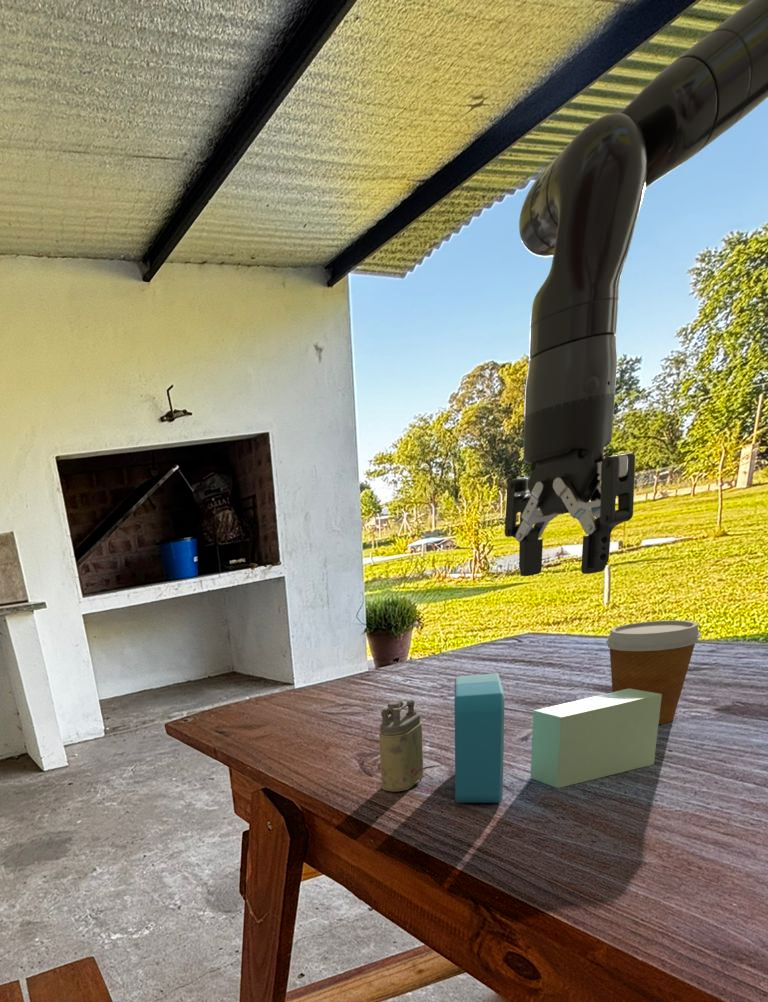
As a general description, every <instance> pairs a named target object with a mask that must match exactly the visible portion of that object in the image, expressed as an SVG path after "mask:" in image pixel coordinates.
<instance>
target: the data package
mask: <svg viewBox="0 0 768 1002" xmlns="http://www.w3.org/2000/svg"><path fill="white" fill-rule="evenodd" d="M502 686H503V685H502V682H501V678H500V675H499V673H496V672H495V673H486V674H474V675H473V674H471V675H461V676H460V675H459V676H456V677H454V795H455V796H454V798H455V799H454V801H455V802H456V803H457V804H482V803H483V804H486V803H487V804H490V803H491V804H492V803H493V804H494V803H495V804H497V803H501V802H502V801H503V797H504V795H503V794H504V755H505V754H504V751H505V748H504V747H505V693H504V689H503V687H502Z"/></svg>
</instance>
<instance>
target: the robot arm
mask: <svg viewBox="0 0 768 1002" xmlns="http://www.w3.org/2000/svg"><path fill="white" fill-rule="evenodd" d="M767 99H768V0H750V1H749V2H747V3H745V4H744V5H743V6H742V7H740V8H738V10H737V11H735V12H734V13H732V15H730V16H729V17H727V18H726V19H725V20H724V21H723V22H721V23H720V24H719V25H717V26H716V27H715V28H714V29H712V30H711V31H709V32H708V33H707V34H706V35H705V36H704V37H702V38H701V39H699V41H698V42H696V43H695V44H694V45H692V46H691V47H690V48H688V49H687V50H686V51H684V53H682V54H681V55H680V56H679V57H677V58H676V59H675V60H674V61H673V62H671V63H670V64H669V65H668V66H666V67H665V68H664V69H663V70H662V71H661V72H660V73H658V75H656V76H655V77H654V78H653V79H652V80H651V81H650V82H649V83H648V84H647V85H646V86H645V87H644V88H643V89H642V90H641V91H640V92H639V93H638V94H637V95H636V96H635V97H634V99H633V100H632V101H630V103H629V104H628V105H627V106H626V107H625V108H624V109H623V110H621V111H620V112H616V113H615V112H614V113H608V114H605V115H603V116H601V117H599V118H597V119H595V120H594V121H592V122H591V123H589V124H588V125H587V126H585V127H584V128H583V129H582V130H581V131H579V132H578V134H577V135H576V136H574V137H573V139H572V140H571V141H570V142H569V143H568V144H567V145H566V146H565V148H564V149H562V151H561V152H560V153H559V154H558V155H557V156H556V157H555V158H554V159H553V161H551V163H549V165H547V167H546V168H545V169H544V170H543V171H542V172H541V173H540V175H539V176H538V177H537V178H536V180H535V181H534V183H533V184H532V186H531V187H530V189H529V190H528V193H527V195H526V197H525V199H524V201H523V203H522V207H521V209H520V215H519V222H518V231H519V237H520V240H521V242H522V245H523V246H524V247H525V249H526V250H527V251H528V252H530V253H531V254H532V255H534V256H537V257H543V258H550V257H552V261H551V266H550V270H549V271H548V272H549V273H548V275H547V278H545V280H544V281H543V283H542V285H541V286H540V288H539V289H538V291H537V293H535V296H534V299H533V302H532V306H531V310H530V311H531V312H530V321H529V328H530V329H529V353H528V359H529V360H528V368H527V369H528V370H527V376H526V381H525V391H524V392H525V394H524V422H523V423H524V426H523V427H524V428H523V429H524V431H523V462H524V463H526V464H530V466H531V470H530V474H529V476H523V477H518V478H513V479H510V480H509V481H508V482H507V484H506V485H507V486H506V501H505V502H506V503H505V519H504V536H505V537H506V538H510V537H512V538H515V540H516V541H517V542H518V543H519V549H518V550H519V552H518V557H519V558H518V568H519V574H520V576H521V577H530V576H535V575H539V574H540V573H542V569H543V568H542V567H543V549H544V547H543V545H544V538H541V537H542V535H543V533H544V532H545V530H546V528H547V527H548V524H549V523H550V522H551V521H552V520H554V519H555V518H556V516H557V515H558V514H560V515H561V514H567V513H569V515H570V516H571V518H573V519H576V520H578V522H579V524H580V526H581V528H582V530H583V531H584V533H585V534H586V535H583V536H582V550H581V564H580V565H581V567H580V572H581V573H582V575H590V574H591V575H592V574H596V573H600V572H603V571H604V570H605V569H606V567H607V565H608V563H609V560H610V548H611V537H612V531H613V530H614V529H615V527H617V526H619V525H621V524H623V523H625V522H630V520H632V519H633V516H634V502H635V501H634V498H635V474H636V473H635V472H636V455H635V454H634V452H626V453H621V454H616V455H609V456H606V457H605V455H604V451H605V448H606V447H608V446H609V445H610V444H611V442H612V439H613V426H614V412H615V401H616V400H615V399H616V384H617V373H618V371H617V370H618V353H617V324H618V311H619V295H620V280H621V277H622V272H623V271H624V270H623V269H624V266H625V263H626V260H627V257H628V254H629V252H630V247H631V245H632V240H633V235H634V232H635V228H636V225H637V220H638V217H639V213H640V210H641V205H642V202H643V198H644V193H645V190H646V189H647V188H649V187H650V186H651V185H652V184H654V183H655V182H657V181H658V180H660V179H662V178H663V177H664V176H666V175H668V174H669V173H670V172H672V171H673V170H675V169H677V168H678V167H680V166H681V165H683V164H684V163H685V162H687V161H688V160H690V159H691V158H692V157H694V156H695V155H697V154H698V153H699V152H701V151H702V150H703V149H705V148H706V147H708V146H709V145H710V144H711V143H712V142H714V141H715V140H717V139H718V138H719V137H720V136H722V135H723V134H724V133H725V132H727V131H728V130H729V129H731V128H732V127H733V126H735V125H736V124H737V123H738V122H739V121H741V120H742V119H744V117H746V116H747V115H749V113H750V114H751V112H752V111H754V110H755V109H756V108H757V107H759V105H761V104H762V103H763V102H764V101H766V100H767ZM617 499H618V500H617ZM616 505H617V509H616ZM518 513H519V514H520V517H519V523H518V524H517V515H518Z"/></svg>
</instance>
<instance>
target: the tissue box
mask: <svg viewBox="0 0 768 1002" xmlns="http://www.w3.org/2000/svg"><path fill="white" fill-rule="evenodd" d="M661 698H662V694H659V693H653V692H647V691H641V690H635V689H624V690H620V691H616V692H608V693H603V694H598V695H594V696H590V697H585V698H582V699H577V700H572V701H568V702H564V703H559V704H556V705H550V706H547V707H543V708H538V709H534V710H532V727H531V728H532V730H531V731H532V732H531V754H530V756H531V757H530V779H531V780H535V781H538V782H540V783H543V784H545V785H547V786H550V787H553V788H555V789H560V788H565V787H568V786H572V785H577V784H581V783H585V782H589V781H593V780H597V779H601V778H604V777H605V778H606V777H608V776H613V775H618V774H622V773H625V772H629V771H632V770H633V771H634V770H637V769H641V768H645V767H650V766H654V765H655V758H656V751H657V742H658V741H657V740H658V731H659V725H660V724H659V715H660V707H661Z"/></svg>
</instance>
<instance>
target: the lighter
mask: <svg viewBox="0 0 768 1002" xmlns="http://www.w3.org/2000/svg"><path fill="white" fill-rule="evenodd" d="M415 704H416V703H415V700H413V699H410V700H407V701H406V703H405V704H404V702H403V700H398V701H391V702H389V703H387V708H383V709H382V710H381V711H380V715H381V719H382V721H381V723H380V724H379V733H378V739H379V756H380V757H379V758H380V777H381V784H380V788H381V789H382V790H383V791H386V792H403V791H404V792H405V791H407V790H409V789H411V788H412V787H413V786H414V785H418V784H420V783H421V779H423V778H424V777H425V772H424V748H423V747H424V745H423V722H422V720H421V713H420V712H419V711H416V710H415ZM406 707H407V711H402V710H403V709H405V708H406Z"/></svg>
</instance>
